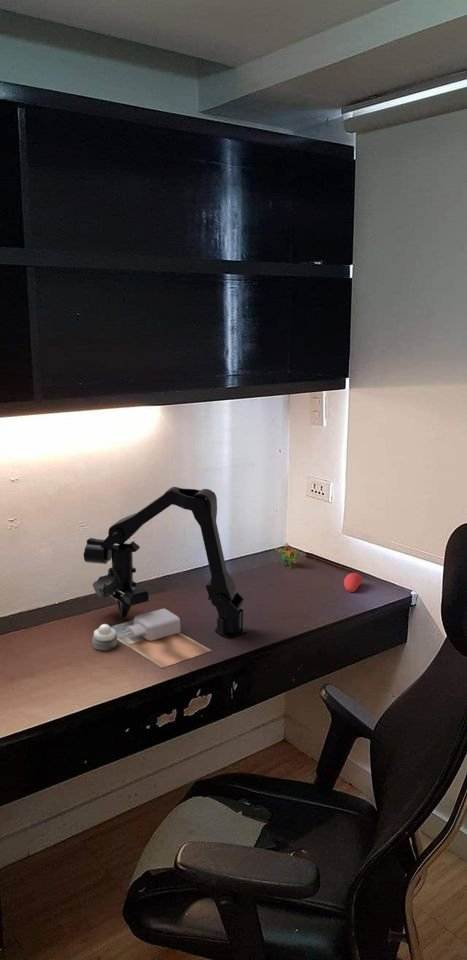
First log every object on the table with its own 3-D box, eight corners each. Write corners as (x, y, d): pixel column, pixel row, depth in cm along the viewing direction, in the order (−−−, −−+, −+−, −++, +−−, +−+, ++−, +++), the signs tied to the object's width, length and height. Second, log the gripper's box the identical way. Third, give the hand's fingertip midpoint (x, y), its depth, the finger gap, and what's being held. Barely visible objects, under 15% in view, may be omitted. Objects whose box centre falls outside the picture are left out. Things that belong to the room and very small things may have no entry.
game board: (149, 615, 215) (149, 608, 215) (211, 651, 194) (211, 643, 193) (77, 636, 201) (77, 629, 200) (136, 677, 179) (136, 669, 179)
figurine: (296, 571, 254) (297, 548, 252) (271, 562, 262) (271, 540, 260) (302, 569, 256) (303, 546, 254) (277, 560, 264) (278, 538, 262)
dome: (108, 630, 199) (108, 618, 199) (119, 637, 195) (119, 625, 195) (90, 636, 196) (89, 623, 195) (100, 643, 192) (100, 630, 191)
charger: (114, 635, 201) (163, 623, 210) (131, 648, 194) (180, 634, 203) (114, 619, 200) (162, 607, 209) (131, 631, 193) (180, 618, 202)
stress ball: (336, 593, 239) (340, 580, 234) (350, 576, 244) (353, 563, 240) (351, 601, 237) (355, 588, 233) (364, 584, 243) (368, 571, 238)
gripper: (79, 562, 210) (81, 614, 213) (114, 580, 196) (115, 636, 199) (114, 554, 217) (115, 605, 220) (150, 571, 203) (151, 625, 206)
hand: (123, 617), depth 211 cm, fingers closed
